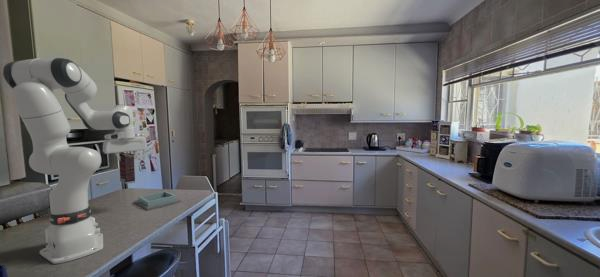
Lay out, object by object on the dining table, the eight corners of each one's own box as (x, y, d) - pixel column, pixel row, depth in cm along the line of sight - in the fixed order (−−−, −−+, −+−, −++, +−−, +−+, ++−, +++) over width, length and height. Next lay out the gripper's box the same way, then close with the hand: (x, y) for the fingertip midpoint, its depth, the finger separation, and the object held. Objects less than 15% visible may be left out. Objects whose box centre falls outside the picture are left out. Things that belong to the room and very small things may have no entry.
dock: (181, 202, 152) (180, 196, 152) (147, 210, 139) (147, 203, 138) (166, 195, 167) (165, 189, 166) (134, 202, 153) (134, 196, 153)
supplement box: (135, 182, 141) (134, 153, 140) (125, 184, 137) (123, 154, 136) (129, 180, 146) (128, 152, 145) (120, 181, 142) (118, 153, 141)
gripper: (143, 133, 150) (145, 157, 151) (100, 135, 134) (102, 162, 135) (148, 133, 146) (149, 157, 147) (104, 136, 130) (106, 163, 131)
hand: (126, 160), depth 141 cm, fingers closed on supplement box, 5 cm apart
